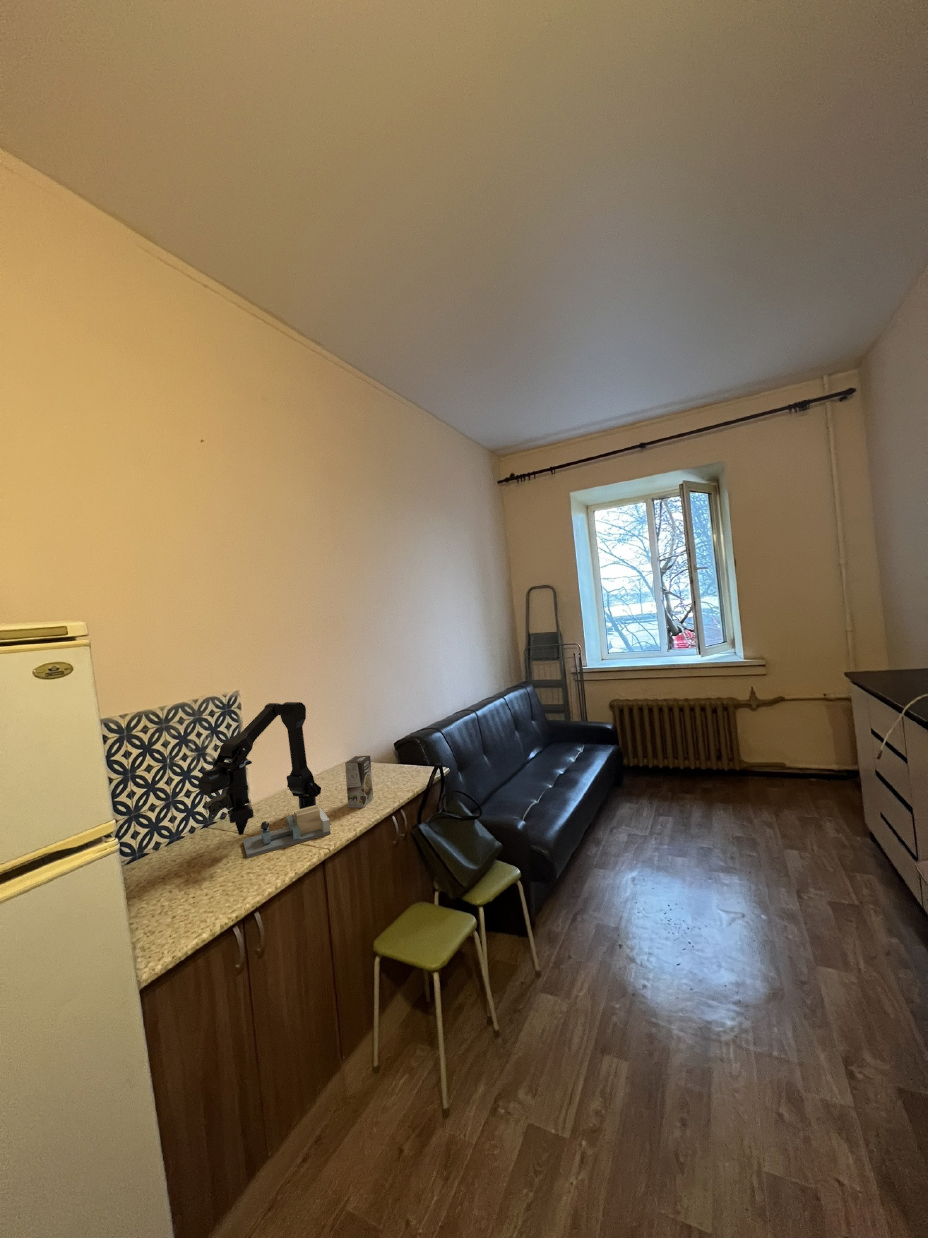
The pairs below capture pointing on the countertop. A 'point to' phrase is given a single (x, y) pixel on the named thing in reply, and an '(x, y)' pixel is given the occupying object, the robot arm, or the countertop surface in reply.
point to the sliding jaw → (292, 830)
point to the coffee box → (359, 781)
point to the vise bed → (284, 839)
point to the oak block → (308, 819)
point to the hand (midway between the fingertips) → (240, 834)
